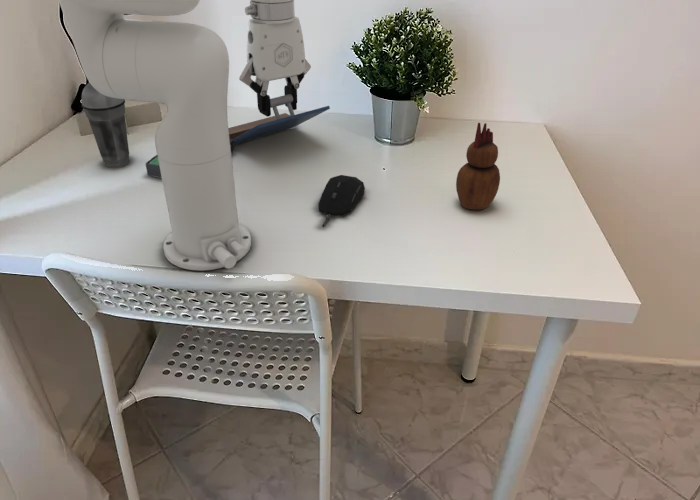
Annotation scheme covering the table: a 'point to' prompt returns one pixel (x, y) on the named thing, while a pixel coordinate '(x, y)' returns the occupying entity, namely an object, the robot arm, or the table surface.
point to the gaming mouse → (340, 196)
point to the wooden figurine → (479, 172)
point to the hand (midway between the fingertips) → (278, 110)
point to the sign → (279, 120)
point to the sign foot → (250, 126)
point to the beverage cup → (107, 126)
